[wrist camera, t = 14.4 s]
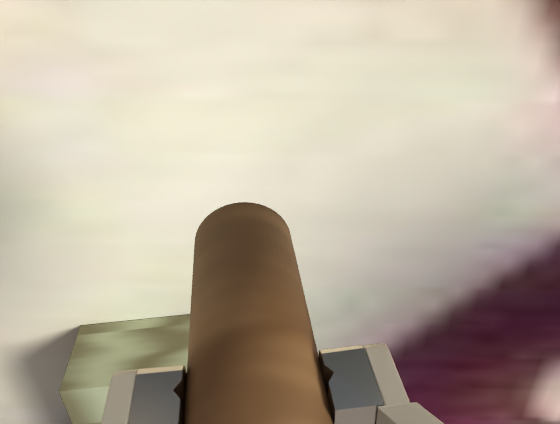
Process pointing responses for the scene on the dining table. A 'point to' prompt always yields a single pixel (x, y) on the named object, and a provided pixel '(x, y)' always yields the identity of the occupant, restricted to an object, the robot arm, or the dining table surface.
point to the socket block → (118, 359)
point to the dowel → (250, 326)
